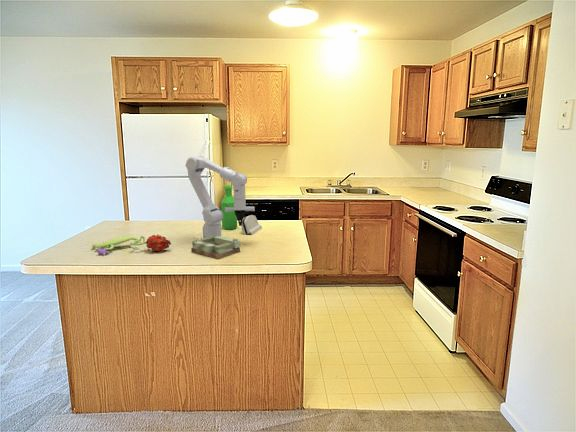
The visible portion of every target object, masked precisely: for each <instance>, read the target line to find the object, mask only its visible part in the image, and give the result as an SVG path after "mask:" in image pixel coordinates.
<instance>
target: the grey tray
mask: <svg viewBox="0 0 576 432" xmlns="http://www.w3.org/2000/svg"><path fill="white" fill-rule="evenodd" d="M214 237H217V236H209V237H206V238H203V237H202V238H200V239H195V240H194V241H192V243H191V244H192V247H191V252H192V253H194V254H198V255H202V256H205V257H209V258H212V259H216V260H219V259H222V258H226V257H228V256H233V255H234V254H236V253H240V252H241V246H240V247H238V248H232V244H231V243H225V244H222V245H220V244H215V241H214Z"/></svg>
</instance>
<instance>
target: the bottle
mask: <svg viewBox="0 0 576 432" xmlns="http://www.w3.org/2000/svg"><path fill="white" fill-rule="evenodd" d="M232 191H233V185H225V186H224V192H225V193H224V197H223V199H222V200H221V201H220V206H221V208H220V210H221V211H222V213H223V219H222V220H221V229H224V230H226V231H227V230H228V231H231V230H235V229H237V228H238V219H237V217H236V215H235V211H230V212H225V207H234V195H233V192H232Z"/></svg>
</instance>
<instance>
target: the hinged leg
mask: <svg viewBox="0 0 576 432" xmlns="http://www.w3.org/2000/svg"><path fill="white" fill-rule="evenodd" d="M214 241H215V244H220V245H222V244H225V243H231V244H232V248H238V247H240V248H241V241H240V240H239V239H237V238H229V237H224V236H222V235H221V236H217V237H214Z"/></svg>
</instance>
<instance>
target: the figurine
mask: <svg viewBox="0 0 576 432" xmlns="http://www.w3.org/2000/svg"><path fill="white" fill-rule="evenodd" d="M142 240H143V241H142ZM129 241H132V242H131V243H130V245H131V246H142V245H147V244H146V241H147V240H145V235H140V238H139V237H134V236H132V235H131V236H127V235H126V236H123V237H117V238H113V239H108V240H105V241H103V242H101V243H94V244H93V245H92V246H91V248H93V249H98V250H96V251H97V253H98V255H100V254H102V255H101V256H106V255H105V254H108V255H110V253H109V251H110V250H113V249H114V247H115V246H116V247H121V248H122V246H121V244H123V243H126V242H129ZM141 241H142V242H141Z"/></svg>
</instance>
